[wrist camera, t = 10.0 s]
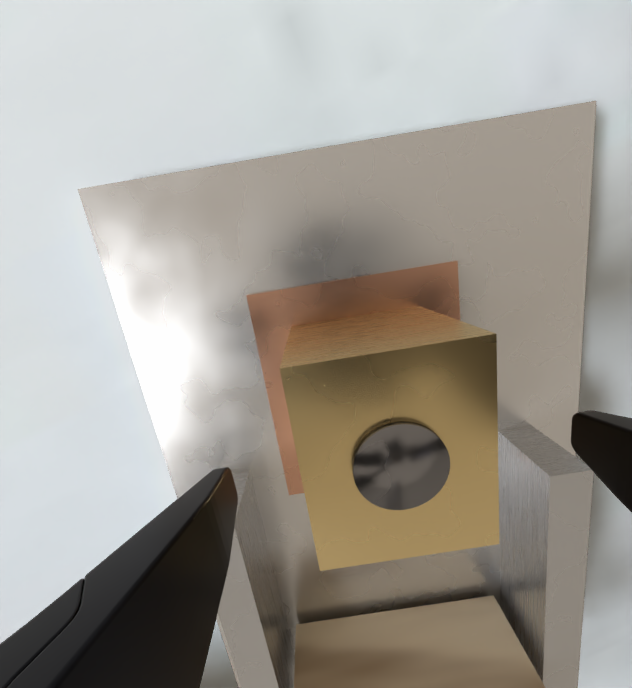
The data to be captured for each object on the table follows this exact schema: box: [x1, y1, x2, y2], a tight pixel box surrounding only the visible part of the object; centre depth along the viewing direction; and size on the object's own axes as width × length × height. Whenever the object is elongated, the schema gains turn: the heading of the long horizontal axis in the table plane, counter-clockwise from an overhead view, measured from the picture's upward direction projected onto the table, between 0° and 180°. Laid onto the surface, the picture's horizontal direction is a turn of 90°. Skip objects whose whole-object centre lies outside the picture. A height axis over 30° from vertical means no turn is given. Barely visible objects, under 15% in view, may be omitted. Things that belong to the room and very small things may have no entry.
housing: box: [280, 306, 499, 571], centre depth 10 cm, size 6×5×5 cm
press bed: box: [78, 101, 596, 688], centre depth 13 cm, size 26×18×4 cm
